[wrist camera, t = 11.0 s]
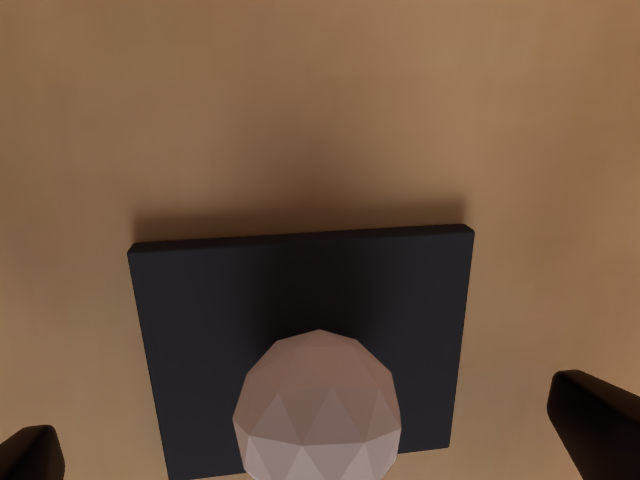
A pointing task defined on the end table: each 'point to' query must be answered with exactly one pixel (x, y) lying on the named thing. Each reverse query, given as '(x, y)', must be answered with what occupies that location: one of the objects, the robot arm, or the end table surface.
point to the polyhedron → (318, 412)
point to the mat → (297, 324)
